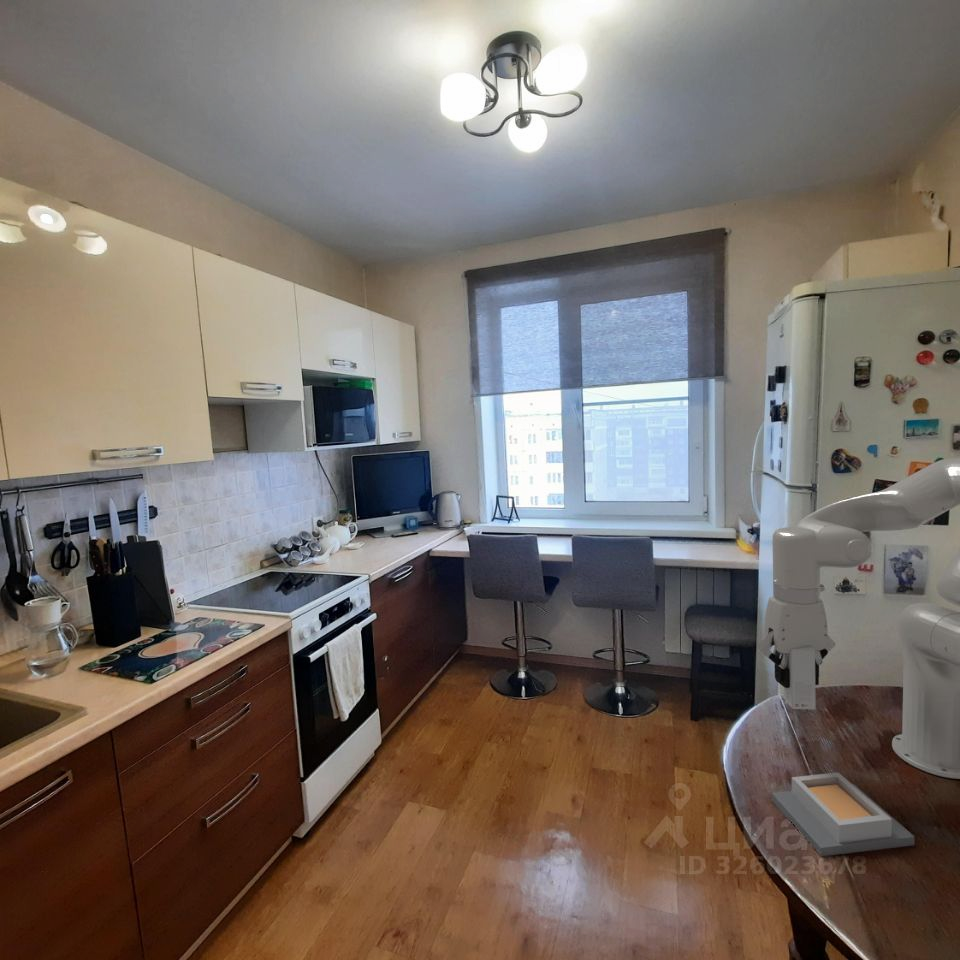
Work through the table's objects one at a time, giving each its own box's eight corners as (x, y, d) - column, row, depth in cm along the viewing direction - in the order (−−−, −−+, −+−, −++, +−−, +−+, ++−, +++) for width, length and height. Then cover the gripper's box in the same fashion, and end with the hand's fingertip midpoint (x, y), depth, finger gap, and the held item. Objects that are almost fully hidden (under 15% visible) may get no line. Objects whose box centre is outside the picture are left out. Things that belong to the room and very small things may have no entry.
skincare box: (816, 710, 92) (816, 649, 90) (791, 709, 92) (790, 649, 91) (802, 693, 98) (801, 635, 96) (778, 692, 98) (777, 635, 97)
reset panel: (853, 791, 91) (853, 768, 91) (914, 845, 79) (915, 819, 79) (771, 800, 90) (771, 777, 90) (820, 856, 78) (820, 830, 78)
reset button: (836, 792, 89) (836, 784, 89) (874, 827, 81) (874, 819, 81) (805, 795, 88) (805, 788, 88) (840, 831, 80) (840, 823, 80)
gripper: (824, 582, 97) (824, 669, 99) (741, 590, 96) (742, 677, 98) (855, 595, 89) (854, 688, 91) (765, 603, 89) (766, 697, 91)
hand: (796, 682), depth 95 cm, fingers closed on skincare box, 5 cm apart
